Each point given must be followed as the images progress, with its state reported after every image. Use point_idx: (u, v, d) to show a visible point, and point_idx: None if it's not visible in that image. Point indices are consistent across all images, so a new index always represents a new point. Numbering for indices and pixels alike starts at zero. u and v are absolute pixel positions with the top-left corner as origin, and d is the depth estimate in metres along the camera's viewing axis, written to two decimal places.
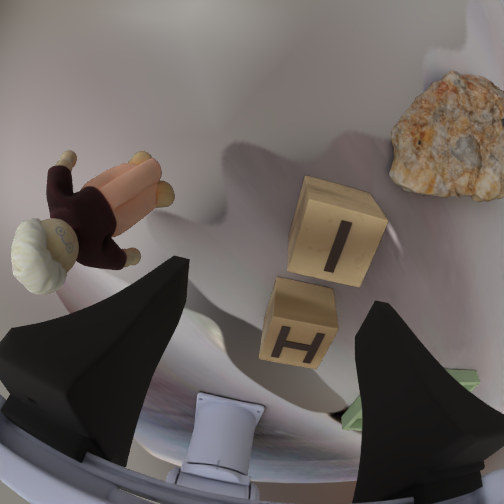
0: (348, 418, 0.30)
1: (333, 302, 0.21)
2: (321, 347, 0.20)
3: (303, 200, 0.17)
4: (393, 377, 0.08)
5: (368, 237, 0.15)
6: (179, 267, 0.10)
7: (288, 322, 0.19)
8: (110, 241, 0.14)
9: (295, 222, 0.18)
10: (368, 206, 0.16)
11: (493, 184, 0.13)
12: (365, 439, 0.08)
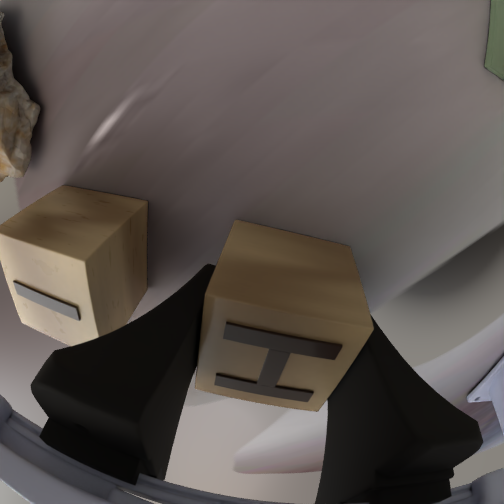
0: None
1: (225, 245, 0.10)
2: (278, 327, 0.08)
3: None
4: (355, 373, 0.08)
5: (16, 256, 0.08)
6: None
7: (203, 374, 0.09)
8: None
9: None
10: None
11: None
12: (329, 438, 0.08)
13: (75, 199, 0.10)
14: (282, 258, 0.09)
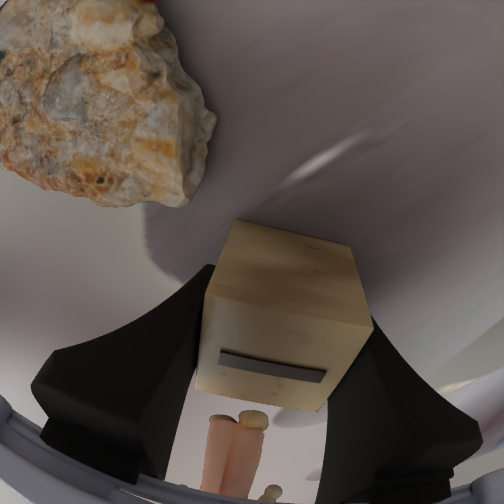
0: None
1: None
2: None
3: None
4: (355, 373, 0.08)
5: (248, 326, 0.08)
6: None
7: None
8: None
9: None
10: None
11: (85, 18, 0.05)
12: (328, 437, 0.08)
13: (277, 243, 0.10)
14: None
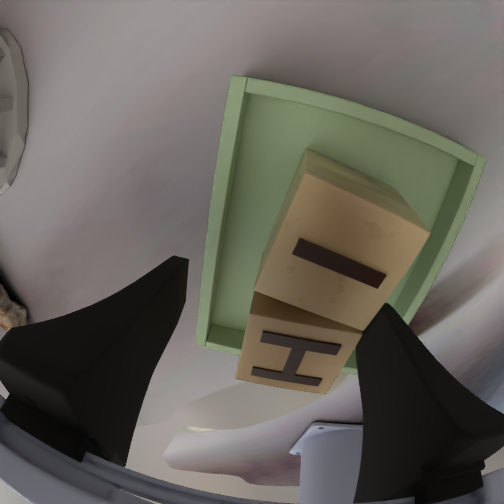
0: None
1: None
2: (297, 333, 0.11)
3: None
4: (394, 377, 0.08)
5: (333, 210, 0.09)
6: (178, 267, 0.10)
7: (243, 367, 0.13)
8: None
9: None
10: (295, 184, 0.10)
11: None
12: (366, 439, 0.08)
13: (344, 168, 0.11)
14: None
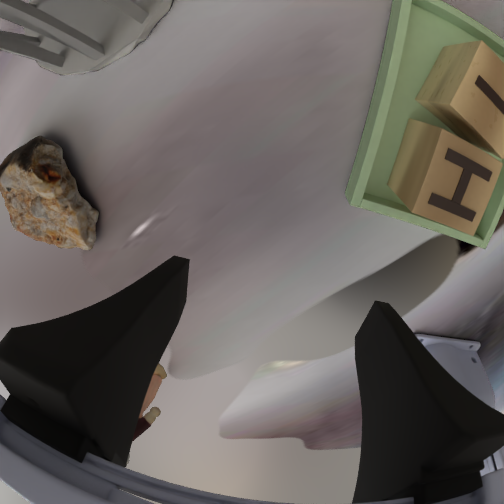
0: None
1: (419, 123, 0.13)
2: (469, 154, 0.11)
3: (443, 111, 0.12)
4: (393, 377, 0.08)
5: (493, 66, 0.08)
6: (179, 267, 0.10)
7: (423, 194, 0.13)
8: None
9: (458, 129, 0.13)
10: (462, 52, 0.10)
11: (37, 189, 0.16)
12: (365, 439, 0.08)
13: None
14: None
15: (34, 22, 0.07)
